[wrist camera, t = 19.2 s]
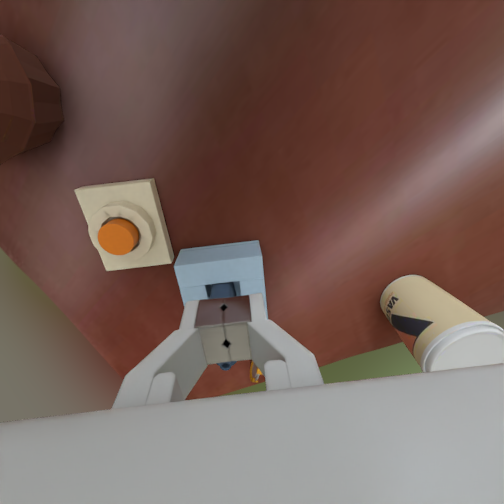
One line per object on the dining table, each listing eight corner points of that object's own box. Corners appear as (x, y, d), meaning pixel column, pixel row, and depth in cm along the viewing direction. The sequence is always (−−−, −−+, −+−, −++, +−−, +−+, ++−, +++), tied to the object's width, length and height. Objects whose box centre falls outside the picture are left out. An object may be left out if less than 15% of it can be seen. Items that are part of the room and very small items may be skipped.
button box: (82, 186, 29) (64, 193, 26) (154, 178, 29) (144, 184, 26) (112, 264, 34) (100, 278, 31) (174, 256, 34) (168, 270, 31)
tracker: (257, 348, 42) (259, 368, 38) (261, 349, 42) (264, 369, 38) (249, 365, 43) (250, 386, 40) (254, 366, 44) (255, 387, 40)
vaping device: (220, 302, 36) (215, 377, 26) (211, 270, 34) (201, 338, 23) (238, 299, 36) (241, 373, 26) (230, 267, 34) (229, 333, 23)
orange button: (99, 220, 28) (91, 225, 26) (133, 216, 28) (127, 221, 26) (111, 250, 30) (104, 257, 28) (143, 246, 30) (138, 253, 28)
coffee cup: (371, 280, 38) (427, 343, 27) (437, 261, 37) (521, 318, 26) (376, 327, 42) (427, 398, 31) (436, 311, 41) (508, 378, 30)
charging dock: (180, 249, 33) (173, 267, 29) (258, 239, 34) (262, 256, 29) (198, 322, 39) (194, 346, 34) (265, 313, 39) (269, 336, 35)
